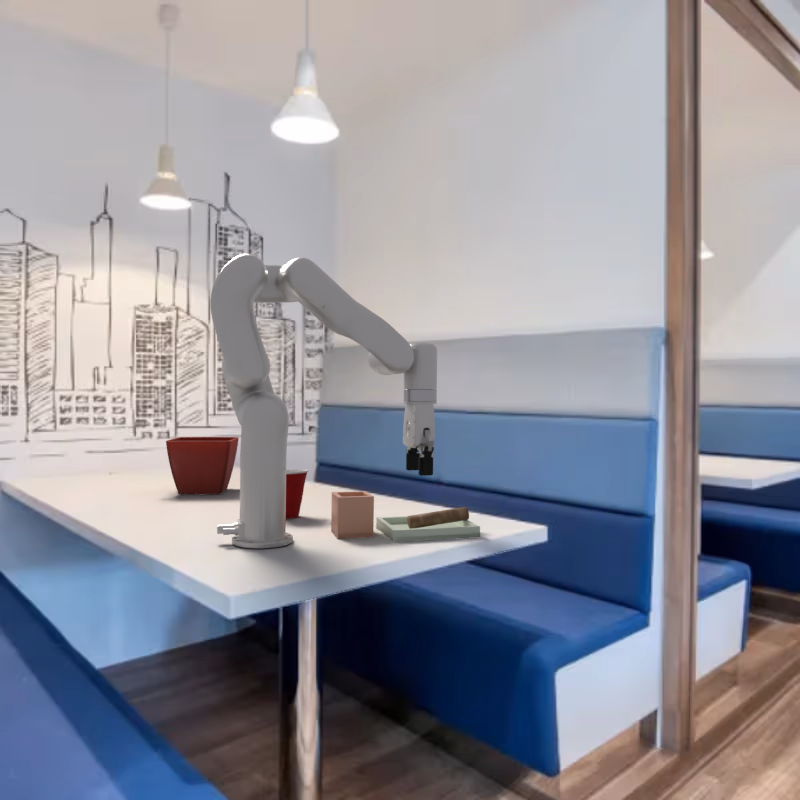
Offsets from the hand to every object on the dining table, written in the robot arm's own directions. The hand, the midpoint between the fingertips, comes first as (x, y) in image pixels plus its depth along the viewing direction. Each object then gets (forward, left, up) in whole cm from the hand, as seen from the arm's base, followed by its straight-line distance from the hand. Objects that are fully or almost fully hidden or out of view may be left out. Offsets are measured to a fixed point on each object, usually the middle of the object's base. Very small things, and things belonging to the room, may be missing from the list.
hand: (419, 472), depth 150 cm
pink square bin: (-15, +2, -14) cm, 20 cm away
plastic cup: (-27, +26, -14) cm, 40 cm away
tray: (+2, 0, -14) cm, 14 cm away
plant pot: (-48, +72, -14) cm, 88 cm away
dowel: (-2, 0, -14) cm, 14 cm away
